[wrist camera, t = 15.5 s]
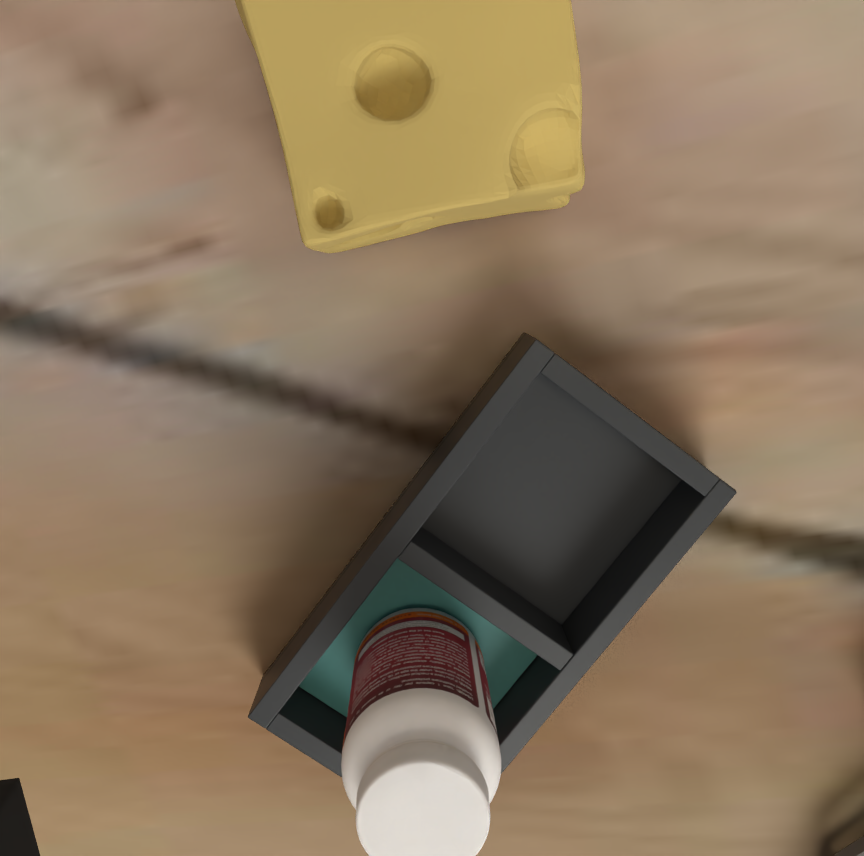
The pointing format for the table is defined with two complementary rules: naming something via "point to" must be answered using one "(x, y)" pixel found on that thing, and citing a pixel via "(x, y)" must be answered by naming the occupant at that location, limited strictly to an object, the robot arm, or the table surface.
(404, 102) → the cheese
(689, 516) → the box
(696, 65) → the table surface
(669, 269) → the table surface
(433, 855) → the pill bottle
